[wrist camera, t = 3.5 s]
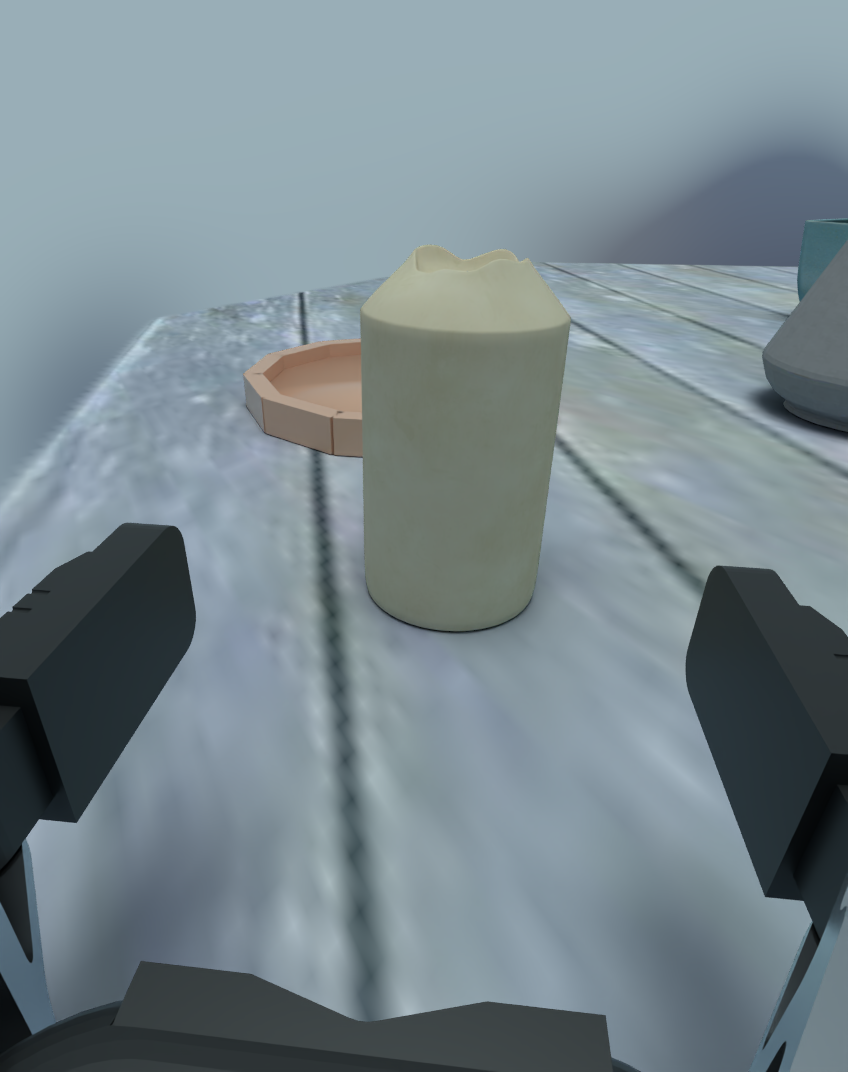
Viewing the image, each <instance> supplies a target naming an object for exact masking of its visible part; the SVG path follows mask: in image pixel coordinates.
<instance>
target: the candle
mask: <svg viewBox="0 0 848 1072" xmlns="http://www.w3.org/2000/svg"><path fill="white" fill-rule="evenodd" d="M570 322H571V318H570V316H569V314H568V313H567V311H566V310H565V308H564V307H563V305H562V304H561V303H560V301H559V300H558V299H557V297H556V296H555V294H554V293H553V292H552V290H551V289H550V288H549V286H548V285H547V284H546V282H545V281H544V280H543V278H542V277H541V276H540V274H539V273H538V272H537V270H536V269H535V268H534V266H533V264H532V263H531V261H530V260H529V259H528V258H526V259H525V260H523V261H521V262H519V261H518V259H517V258H516V256H515V255H514V254H513V253H512V252H510V251H508V250H505V249H499V250H495V251H491V252H488V253H485V254H483V255H480V256H477V257H475V258H472V259H466V260H463V259H460V258H458V257H456V256H455V255H453V254H452V253H451V252H449V251H448V250H446V249H445V248H442V247H440V246H437V245H423V246H419V247H418V248H416V249H415V250H414V251H413V253H412V254H411V255H410V256H409V257H408V259H407V260H406V261H405V262H404V263H403V265H401V266H400V267H399V268H398V269H397V270H396V271H395V272H394V273H393V274H392V275H391V276H390V277H389V278H388V279H387V280H386V281H385V282H384V283H383V284H382V285H381V286H380V287H379V288H378V289H377V290H376V291H375V292H374V293H373V294H372V296H371V297H370V298H369V299H368V300H367V301H366V303H365V304H364V305H363V306H362V307H361V309H360V323H361V383H362V441H363V499H364V554H365V578H366V583H367V587H368V591H369V593H370V595H371V597H372V599H373V600H374V601H375V602H376V604H377V605H378V606H379V607H381V608H382V609H383V610H384V611H386V612H387V613H389V614H390V615H392V616H394V617H395V618H397V619H399V620H402V621H404V622H407V623H409V624H412V625H416V626H419V627H424V628H428V629H434V630H442V631H470V630H478V629H484V628H488V627H492V626H495V625H498V624H501V623H503V622H506V621H508V620H510V619H512V618H513V617H515V616H517V615H518V614H519V613H520V612H521V611H523V610H524V608H525V607H526V606H527V605H528V603H529V601H530V600H531V597H532V594H533V591H534V587H535V583H536V577H537V570H538V564H539V557H540V549H541V541H542V534H543V526H544V519H545V511H546V504H547V496H548V489H549V481H550V474H551V466H552V458H553V451H554V443H555V436H556V428H557V421H558V413H559V406H560V398H561V391H562V383H563V375H564V368H565V360H566V353H567V345H568V338H569V330H570Z"/></svg>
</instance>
